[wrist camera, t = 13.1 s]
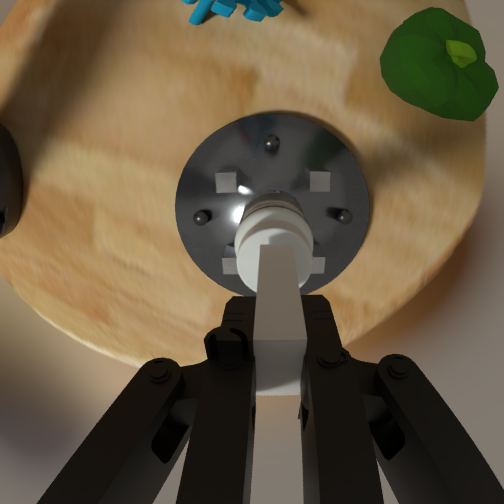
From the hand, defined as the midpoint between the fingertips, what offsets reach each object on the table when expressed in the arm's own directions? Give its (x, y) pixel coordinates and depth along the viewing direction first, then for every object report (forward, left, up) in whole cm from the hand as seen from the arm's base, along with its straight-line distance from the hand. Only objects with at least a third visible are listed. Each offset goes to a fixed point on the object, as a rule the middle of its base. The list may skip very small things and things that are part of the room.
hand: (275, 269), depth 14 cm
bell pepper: (+12, +13, -10) cm, 20 cm away
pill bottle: (0, 0, -9) cm, 9 cm away
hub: (0, 0, -10) cm, 10 cm away
